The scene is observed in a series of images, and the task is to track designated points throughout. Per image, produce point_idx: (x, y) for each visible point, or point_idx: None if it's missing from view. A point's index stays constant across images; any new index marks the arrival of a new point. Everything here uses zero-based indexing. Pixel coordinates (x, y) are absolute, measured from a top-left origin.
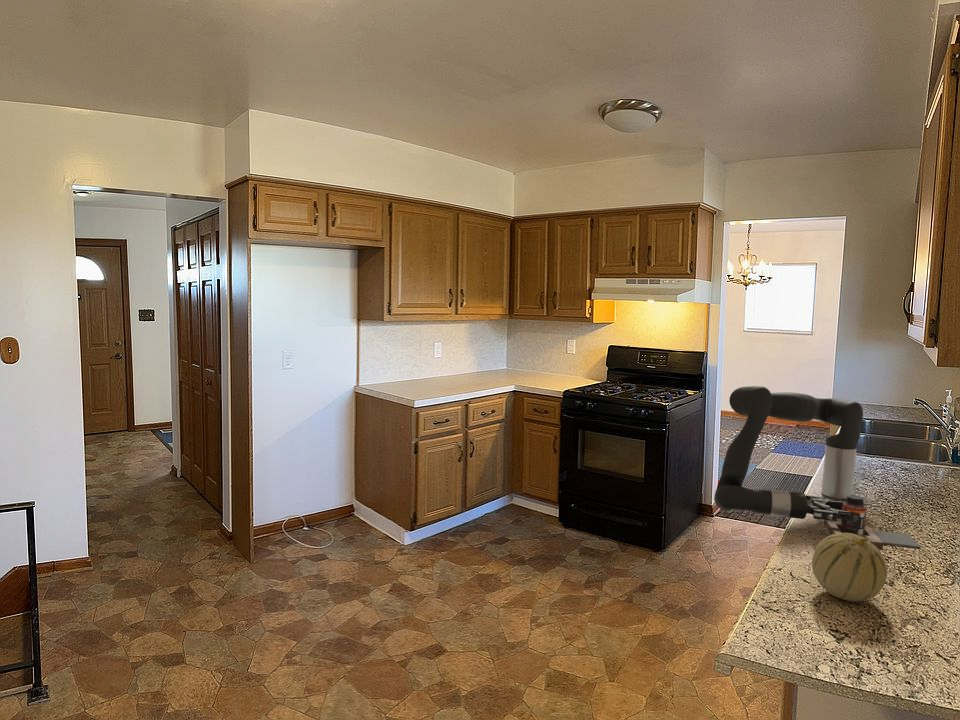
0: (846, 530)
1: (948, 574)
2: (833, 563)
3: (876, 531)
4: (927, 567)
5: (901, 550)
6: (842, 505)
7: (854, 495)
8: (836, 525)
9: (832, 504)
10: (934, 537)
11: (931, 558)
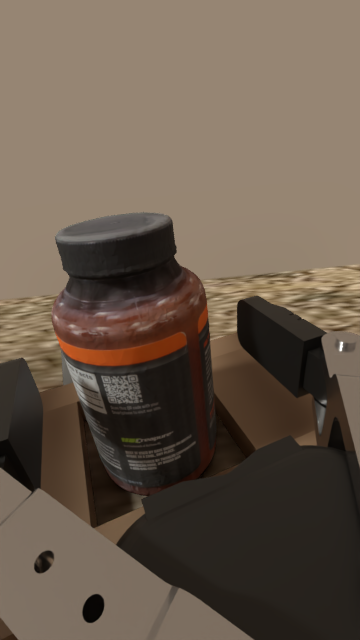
0: (212, 435)
1: (287, 273)
2: None
3: (71, 379)
4: (286, 288)
5: (209, 324)
6: (30, 388)
7: (74, 230)
8: (92, 526)
9: (21, 456)
10: (43, 308)
11: (213, 293)
